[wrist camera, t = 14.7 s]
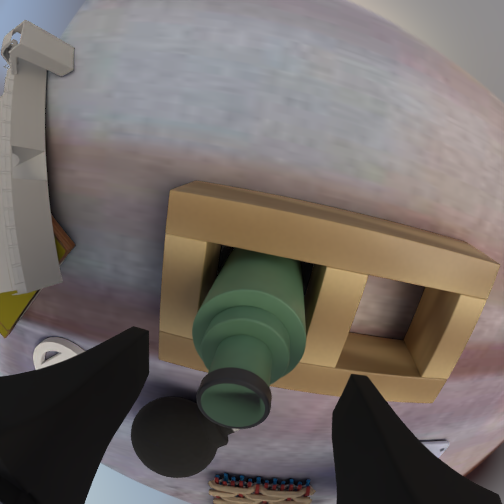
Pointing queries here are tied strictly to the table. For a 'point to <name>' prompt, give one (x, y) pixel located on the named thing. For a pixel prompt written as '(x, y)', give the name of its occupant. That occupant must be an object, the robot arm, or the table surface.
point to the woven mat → (258, 491)
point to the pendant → (54, 344)
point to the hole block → (327, 286)
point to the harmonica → (14, 306)
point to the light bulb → (176, 437)
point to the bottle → (249, 336)
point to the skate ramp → (27, 160)
